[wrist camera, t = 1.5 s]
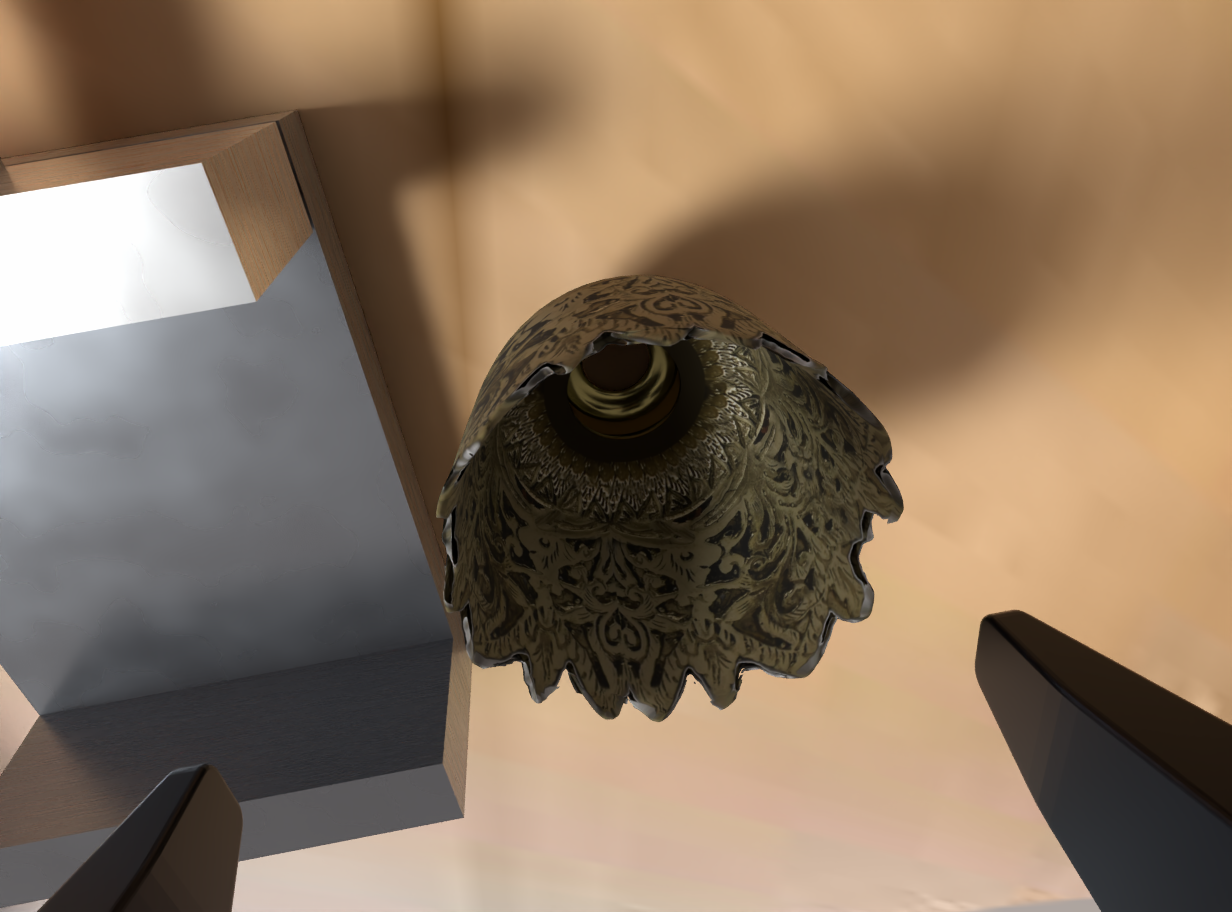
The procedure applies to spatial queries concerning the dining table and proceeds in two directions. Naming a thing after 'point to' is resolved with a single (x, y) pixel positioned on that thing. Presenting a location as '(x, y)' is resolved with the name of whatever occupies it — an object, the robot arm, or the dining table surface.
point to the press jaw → (145, 231)
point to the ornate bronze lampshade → (660, 502)
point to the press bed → (221, 571)
